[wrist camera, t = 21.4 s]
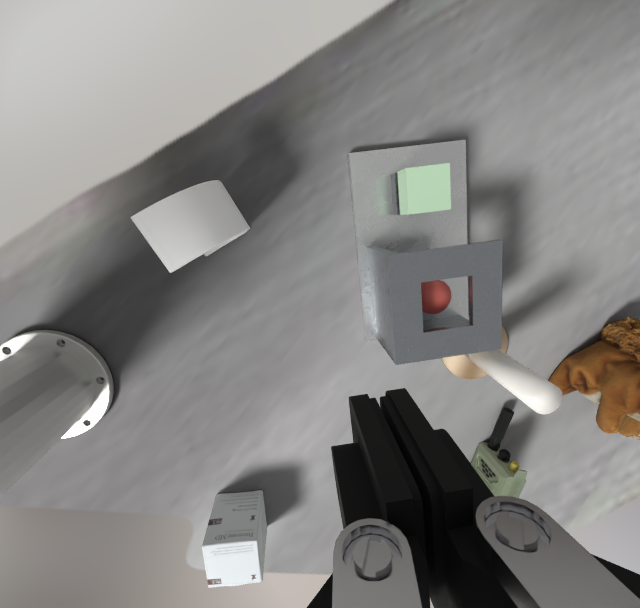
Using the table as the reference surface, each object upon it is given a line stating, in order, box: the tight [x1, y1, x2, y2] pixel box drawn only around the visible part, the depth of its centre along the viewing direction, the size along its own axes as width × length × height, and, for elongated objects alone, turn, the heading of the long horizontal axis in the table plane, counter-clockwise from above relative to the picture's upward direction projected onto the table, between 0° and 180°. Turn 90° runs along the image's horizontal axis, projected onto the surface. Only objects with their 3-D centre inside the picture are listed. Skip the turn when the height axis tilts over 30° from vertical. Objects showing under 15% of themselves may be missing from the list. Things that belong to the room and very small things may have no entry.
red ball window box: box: [348, 140, 503, 365], centre depth 34 cm, size 12×20×9 cm, turn 7°
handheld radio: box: [471, 408, 527, 498], centre depth 44 cm, size 7×3×25 cm
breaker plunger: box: [421, 280, 451, 314], centre depth 36 cm, size 3×3×4 cm
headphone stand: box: [130, 180, 250, 273], centre depth 30 cm, size 5×6×12 cm
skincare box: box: [202, 490, 267, 588], centre depth 41 cm, size 6×6×7 cm
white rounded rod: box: [465, 349, 563, 414], centre depth 36 cm, size 3×3×12 cm
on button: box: [397, 163, 451, 215], centre depth 33 cm, size 4×4×4 cm
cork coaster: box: [442, 315, 508, 379], centre depth 42 cm, size 8×8×1 cm
